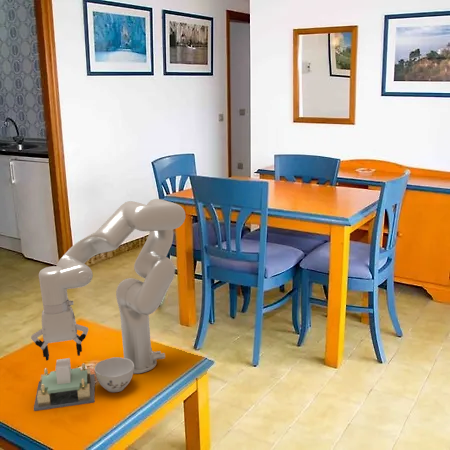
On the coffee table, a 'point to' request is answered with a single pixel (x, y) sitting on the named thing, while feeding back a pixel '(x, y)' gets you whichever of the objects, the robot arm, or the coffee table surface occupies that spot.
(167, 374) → the coffee table surface
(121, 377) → the teacup
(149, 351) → the robot arm
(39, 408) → the chassis
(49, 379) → the circuit board
